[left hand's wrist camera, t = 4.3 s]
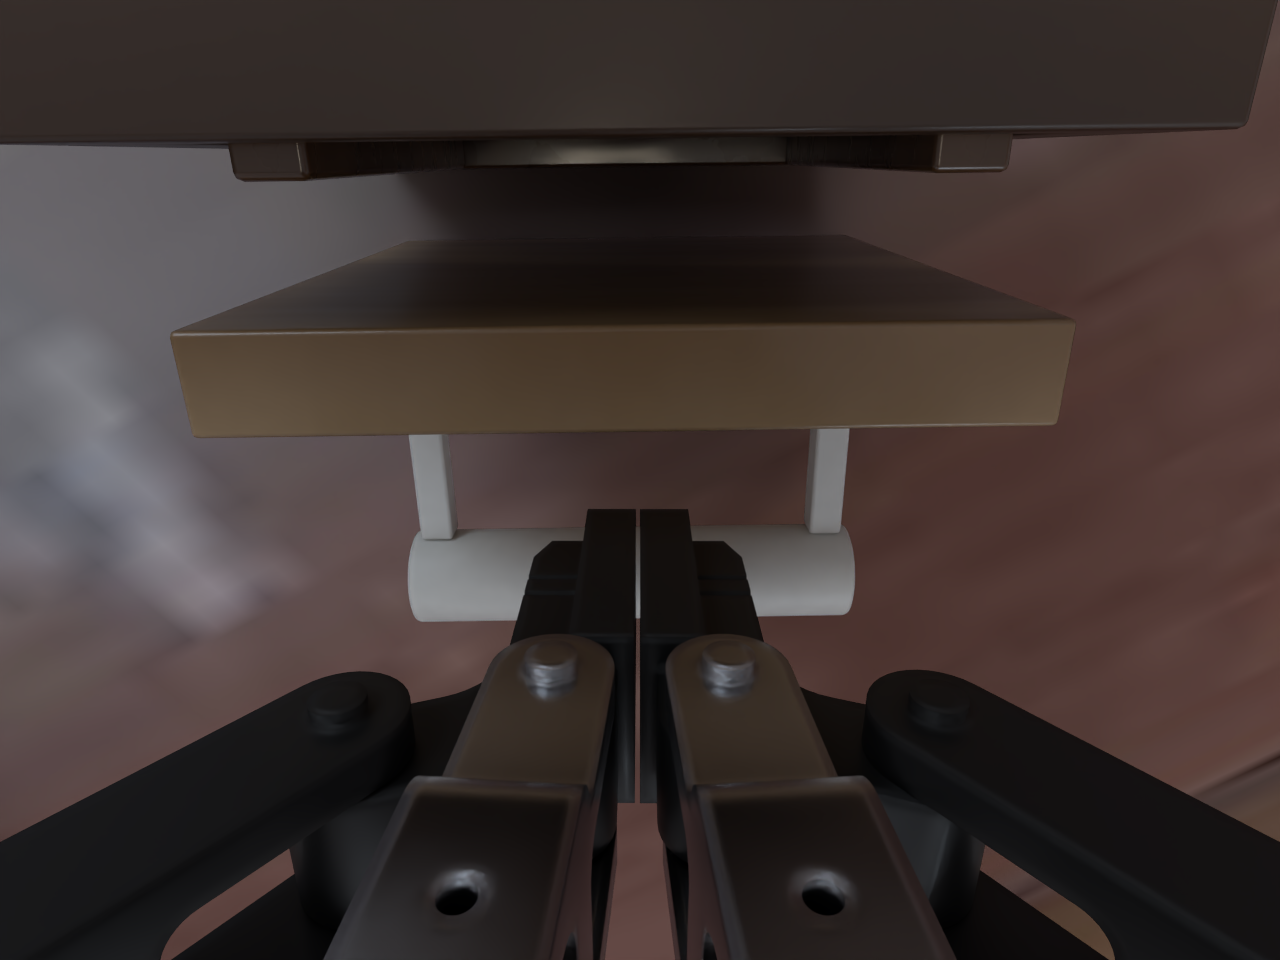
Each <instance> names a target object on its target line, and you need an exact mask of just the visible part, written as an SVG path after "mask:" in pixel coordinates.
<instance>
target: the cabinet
mask: <svg viewBox="0 0 1280 960" xmlns="http://www.w3.org/2000/svg"><path fill="white" fill-rule="evenodd" d="M1277 2H1278V0H0V144H4V145H58V146H63V145H68V146H111V147H165V148H219V149H229V147H228V143H305V142H386V141H467V140H548V139H629V138H710V137H790V136H871V135H952V134H1013V138H1012V139H1025V138H1048V137H1070V136H1093V135H1115V134H1138V133H1160V132H1182V131H1204V130H1227V129H1238V128H1240V127H1242V126H1244V125H1245V124H1246V123H1247V121H1248V118H1249V114H1250V110H1251V106H1252V102H1253V98H1254V94H1255V90H1256V86H1257V82H1258V78H1259V74H1260V70H1261V66H1262V62H1263V58H1264V54H1265V50H1266V46H1267V42H1268V38H1269V34H1270V30H1271V26H1272V22H1273V18H1274V14H1275V10H1276V6H1277Z"/></svg>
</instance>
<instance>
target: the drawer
mask: <svg viewBox="0 0 1280 960" xmlns="http://www.w3.org/2000/svg"><path fill="white" fill-rule="evenodd" d="M1012 138H1013V134H952V135H871V136H790V137H710V138H629V139H548V140H467V141H386V142H305V143H228V147H229V152H230V157H231V163H232V168H233V172H234V174H235V176H236V178H237V179H239V180H242V181H244V182H258V181H310V180H323V179H336V178H349V177H363V176H376V175H389V174H402V173H415V172H428V171H441V170H454V169H495V168H575V167H654V166H733V165H801V166H819V167H838V168H856V169H874V170H892V171H911V172H929V173H972V172H1001V171H1004V170H1006V169H1007V166H1008V164H1009V158H1010V151H1011V144H1012ZM1075 328H1076V322H1075V320H1074V319H1071V318H1069V317H1066V316H1064V315H1061V314H1058V313H1055V312H1053V311H1050V310H1047V309H1045V308H1042V307H1039V306H1036V305H1034V304H1031V303H1028V302H1025V301H1023V300H1020V299H1017V298H1015V297H1012V296H1009V295H1006V294H1004V293H1001V292H998V291H996V290H993V289H990V288H987V287H985V286H982V285H979V284H977V283H974V282H971V281H968V280H966V279H963V278H960V277H958V276H955V275H952V274H949V273H947V272H944V271H941V270H938V269H936V268H933V267H930V266H928V265H925V264H922V263H919V262H917V261H914V260H911V259H909V258H906V257H903V256H900V255H898V254H895V253H892V252H890V251H887V250H884V249H881V248H879V247H876V246H873V245H870V244H868V243H865V242H862V241H860V240H857V239H854V238H851V237H849V236H846V235H820V236H744V237H668V238H592V239H516V240H440V241H407V242H405V243H402V244H400V245H397V246H394V247H392V248H389V249H387V250H384V251H381V252H379V253H376V254H373V255H371V256H368V257H366V258H363V259H360V260H358V261H355V262H353V263H350V264H347V265H345V266H342V267H340V268H337V269H334V270H332V271H329V272H327V273H324V274H321V275H319V276H316V277H313V278H311V279H308V280H306V281H303V282H300V283H298V284H295V285H293V286H290V287H287V288H285V289H282V290H280V291H277V292H274V293H272V294H269V295H267V296H264V297H261V298H259V299H256V300H254V301H251V302H248V303H246V304H243V305H240V306H238V307H235V308H233V309H230V310H227V311H225V312H222V313H220V314H217V315H214V316H212V317H209V318H207V319H204V320H201V321H199V322H196V323H194V324H191V325H188V326H186V327H183V328H180V329H178V330H175V331H173V332H171V335H170V340H171V344H172V348H173V352H174V357H175V361H176V365H177V370H178V374H179V378H180V383H181V387H182V391H183V395H184V400H185V404H186V408H187V413H188V417H189V421H190V426H191V430H192V434H193V435H194V437H197V438H239V437H307V436H375V435H409V442H410V450H411V458H412V466H413V474H414V482H415V489H416V497H417V505H418V513H419V521H420V529H421V531H420V532H418V533H417V534H416V536H415V538H414V540H413V543H412V547H411V551H410V556H409V564H408V592H409V600H410V605H411V608H412V612H413V614H414V616H415V618H416V619H417V620H419V621H421V622H436V621H497V620H517V617H518V613H519V610H520V606H521V602H522V599H523V595H524V594H525V588H526V584H527V580H528V579H529V573H530V569H531V565H532V562H533V558H534V556H535V555H536V554H538V553H539V552H540V551H541V550H542V549H543V548H545V547H546V546H547V545H548V544H549V543H550V542H551V541H583V537H584V531H585V527H577V528H512V529H457V527H458V520H457V511H456V501H455V492H454V483H453V473H452V464H451V455H450V445H449V436H448V434H511V433H579V432H647V431H715V430H784V429H810V441H809V455H808V469H807V483H806V497H805V511H804V521H805V524H772V525H707V526H690V527H691V534H692V541H724V542H725V543H727V544H728V545H729V546H730V547H731V548H732V549H733V550H734V551H736V552H737V553H738V554H739V555H740V556H741V557H742V559H743V563H744V567H745V571H746V575H747V580H748V583H749V587H750V590H751V595H752V598H753V602H754V606H755V610H756V614H757V616H807V615H844V614H846V613H847V612H848V611H849V610H850V607H851V605H852V601H853V596H854V588H855V563H854V554H853V548H852V543H851V540H850V537H849V534H848V531H847V529H846V528H845V527H844V526H843V525H841V517H842V506H843V495H844V484H845V473H846V462H847V451H848V440H849V429H852V428H920V427H988V426H1050V425H1055V424H1056V423H1057V421H1058V416H1059V411H1060V406H1061V401H1062V395H1063V390H1064V385H1065V380H1066V375H1067V369H1068V364H1069V359H1070V354H1071V349H1072V343H1073V338H1074V333H1075ZM636 618H640V527H636Z"/></svg>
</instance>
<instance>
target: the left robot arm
mask: <svg viewBox="0 0 1280 960" xmlns="http://www.w3.org/2000/svg"><path fill="white" fill-rule="evenodd" d="M635 695H636V509H588V511H587V518H586V524H585V531H584V537H583V541H551V542H550V543H549V544H548V545H547V546H546V547H545V548H543V549H542V550H541V551H540V552H539V553H538V554H536V555H535V556H534V558H533V562H532V565H531V569H530V573H529V579H528V580H527V584H526V588H525V594H524V595H523V599H522V602H521V606H520V610H519V613H518V617H517V621H516V625H515V628H514V632H513V636H512V639H511V643H510V646H508V647H506V648H505V649H503V650H502V651H501V652H500V653H498V654H497V655H496V657H495V658H494V659H493V660H492V662H491V664H490V665H489V668H488V670H487V672H486V675H485V677H484V679H483V682H482V683H480V684H478V685H476V686H474V687H472V688H470V689H468V690H465V691H462V692H460V693H457V694H453V695H449V696H445V697H441V698H436V699H431V700H427V701H422V702H417V703H412V704H411V701H410V695H409V692H408V690H407V688H406V687H405V686H404V685H403V684H402V683H401V682H400V681H398V680H397V679H395V678H393V677H391V676H388V675H385V674H381V673H375V672H361V671H359V672H346V673H340V674H335V675H331V676H327V677H324V678H321V679H318V680H315V681H312V682H310V683H308V684H306V685H304V686H302V687H300V688H298V689H296V690H294V691H292V692H290V693H288V694H286V695H284V696H282V697H280V698H278V699H276V700H274V701H272V702H271V703H269V704H267V705H265V706H263V707H261V708H259V709H257V710H255V711H253V712H251V713H249V714H247V715H245V716H243V717H241V718H240V719H238V720H236V721H234V722H232V723H230V724H228V725H226V726H224V727H222V728H220V729H218V730H216V731H214V732H212V733H211V734H209V735H207V736H205V737H203V738H201V739H199V740H197V741H195V742H193V743H191V744H189V745H187V746H185V747H183V748H181V749H180V750H178V751H176V752H174V753H172V754H170V755H168V756H166V757H164V758H162V759H160V760H158V761H156V762H154V763H152V764H150V765H149V766H147V767H145V768H143V769H141V770H139V771H137V772H135V773H133V774H131V775H129V776H127V777H125V778H123V779H121V780H120V781H118V782H116V783H114V784H112V785H110V786H108V787H106V788H104V789H102V790H100V791H98V792H96V793H94V794H92V795H90V796H89V797H87V798H85V799H83V800H81V801H79V802H77V803H75V804H73V805H71V806H69V807H67V808H65V809H63V810H61V811H59V812H58V813H56V814H54V815H52V816H50V817H48V818H46V819H44V820H42V821H40V822H38V823H36V824H34V825H32V826H30V827H29V828H27V829H25V830H23V831H21V832H19V833H17V834H15V835H13V836H11V837H9V838H7V839H5V840H3V841H1V842H0V960H160V959H161V955H162V952H163V950H164V947H165V945H166V943H167V941H168V940H169V938H170V936H171V935H172V934H173V932H174V931H175V930H176V928H177V927H178V926H179V925H180V924H181V923H182V922H183V921H184V920H185V919H186V918H187V917H188V916H189V915H191V914H192V913H193V912H195V911H196V910H197V909H199V908H200V907H202V906H203V905H205V904H206V903H208V902H209V901H211V900H212V899H214V898H215V897H217V896H218V895H220V894H221V893H223V892H224V891H226V890H227V889H229V888H230V887H232V886H233V885H235V884H236V883H238V882H239V881H241V880H242V879H244V878H245V877H247V876H248V875H250V874H251V873H253V872H254V871H256V870H257V869H259V868H260V867H262V866H263V865H265V864H266V863H268V862H269V861H271V860H272V859H274V858H275V857H277V856H278V855H280V854H281V853H283V852H284V851H286V850H287V849H290V854H291V859H292V863H293V868H294V873H295V874H294V875H292V876H291V877H289V878H288V879H287V880H285V881H284V882H282V883H281V884H279V885H278V886H277V887H275V888H274V889H272V890H271V891H269V892H268V893H266V894H265V895H264V896H262V897H261V898H259V899H258V900H256V901H255V902H254V903H252V904H251V905H249V906H248V907H246V908H245V909H244V910H242V911H241V912H239V913H238V914H236V915H235V916H233V917H232V918H231V919H229V920H228V921H226V922H225V923H223V924H222V925H221V926H219V927H218V928H216V929H215V930H213V931H212V932H211V933H209V934H208V935H206V936H205V937H203V938H202V939H200V940H199V941H198V942H196V943H195V944H193V945H192V946H190V947H189V948H188V949H186V950H185V951H183V952H182V953H180V954H179V955H177V956H176V957H175V958H173V959H172V960H605V954H606V946H607V938H608V930H609V922H610V914H611V906H612V898H613V890H614V882H615V874H616V866H617V803H635ZM640 803H657V822H658V830H659V833H660V836H661V838H662V840H663V866H664V874H665V882H666V890H667V898H668V906H669V914H670V922H671V930H672V938H673V946H674V954H675V960H1108V959H1107V958H1105V957H1104V956H1102V955H1101V954H1100V953H1098V952H1097V951H1095V950H1094V949H1092V948H1091V947H1090V946H1088V945H1087V944H1085V943H1084V942H1082V941H1081V940H1080V939H1078V938H1077V937H1075V936H1074V935H1072V934H1071V933H1069V932H1068V931H1067V930H1065V929H1064V928H1062V927H1061V926H1059V925H1058V924H1057V923H1055V922H1054V921H1052V920H1051V919H1049V918H1048V917H1047V916H1045V915H1044V914H1042V913H1041V912H1039V911H1038V910H1036V909H1035V908H1034V907H1032V906H1031V905H1029V904H1028V903H1026V902H1025V901H1024V900H1022V899H1021V898H1019V897H1018V896H1016V895H1015V894H1013V893H1012V892H1011V891H1009V890H1008V889H1006V888H1005V887H1003V886H1002V885H1001V884H999V883H998V882H996V881H995V880H993V879H992V878H991V877H989V876H988V875H986V874H985V873H983V872H982V871H980V867H981V862H982V857H983V852H984V847H985V845H987V846H988V847H990V848H991V849H993V850H994V851H996V852H997V853H999V854H1000V855H1002V856H1003V857H1005V858H1006V859H1008V860H1009V861H1011V862H1012V863H1014V864H1015V865H1017V866H1018V867H1020V868H1021V869H1023V870H1024V871H1026V872H1027V873H1029V874H1030V875H1032V876H1033V877H1035V878H1036V879H1038V880H1039V881H1041V882H1042V883H1044V884H1045V885H1047V886H1048V887H1050V888H1051V889H1053V890H1054V891H1056V892H1057V893H1059V894H1060V895H1062V896H1063V897H1065V898H1066V899H1068V900H1069V901H1071V902H1072V903H1074V904H1075V905H1077V906H1078V907H1079V908H1081V909H1082V910H1083V911H1085V912H1086V913H1087V914H1088V915H1089V916H1090V917H1091V918H1093V920H1094V921H1095V922H1096V923H1097V924H1098V925H1099V926H1100V928H1101V929H1102V930H1103V932H1104V933H1105V935H1106V936H1107V938H1108V940H1109V942H1110V944H1111V946H1112V949H1113V952H1114V956H1115V960H1280V842H1279V841H1277V840H1275V839H1273V838H1271V837H1269V836H1267V835H1265V834H1263V833H1261V832H1259V831H1257V830H1255V829H1253V828H1251V827H1250V826H1248V825H1246V824H1244V823H1242V822H1240V821H1238V820H1236V819H1234V818H1232V817H1230V816H1228V815H1226V814H1224V813H1222V812H1220V811H1219V810H1217V809H1215V808H1213V807H1211V806H1209V805H1207V804H1205V803H1203V802H1201V801H1199V800H1197V799H1195V798H1193V797H1191V796H1189V795H1188V794H1186V793H1184V792H1182V791H1180V790H1178V789H1176V788H1174V787H1172V786H1170V785H1168V784H1166V783H1164V782H1162V781H1160V780H1159V779H1157V778H1155V777H1153V776H1151V775H1149V774H1147V773H1145V772H1143V771H1141V770H1139V769H1137V768H1135V767H1133V766H1131V765H1129V764H1128V763H1126V762H1124V761H1122V760H1120V759H1118V758H1116V757H1114V756H1112V755H1110V754H1108V753H1106V752H1104V751H1102V750H1100V749H1098V748H1097V747H1095V746H1093V745H1091V744H1089V743H1087V742H1085V741H1083V740H1081V739H1079V738H1077V737H1075V736H1073V735H1071V734H1069V733H1068V732H1066V731H1064V730H1062V729H1060V728H1058V727H1056V726H1054V725H1052V724H1050V723H1048V722H1046V721H1044V720H1042V719H1040V718H1038V717H1037V716H1035V715H1033V714H1031V713H1029V712H1027V711H1025V710H1023V709H1021V708H1019V707H1017V706H1015V705H1013V704H1011V703H1009V702H1008V701H1006V700H1004V699H1002V698H1000V697H998V696H996V695H994V694H992V693H990V692H988V691H986V690H984V689H982V688H980V687H978V686H977V685H975V684H972V683H970V682H968V681H966V680H964V679H961V678H958V677H955V676H952V675H948V674H944V673H941V672H934V671H927V670H904V671H897V672H894V673H890V674H887V675H885V676H883V677H881V678H879V679H878V680H876V681H875V682H874V683H873V684H872V685H871V687H870V688H869V691H868V693H867V699H866V705H865V704H860V703H856V702H851V701H846V700H841V699H837V698H832V697H828V696H824V695H820V694H817V693H814V692H811V691H808V690H806V689H804V688H801V687H800V686H799V684H798V682H797V679H796V677H795V675H794V672H793V670H792V668H791V665H790V664H789V662H788V660H787V659H786V658H785V657H784V655H783V654H782V653H780V652H779V651H778V650H777V649H775V648H774V647H772V646H770V645H769V644H767V643H764V641H763V637H762V633H761V629H760V625H759V621H758V617H757V614H756V610H755V606H754V602H753V598H752V595H751V590H750V587H749V583H748V580H747V575H746V571H745V567H744V563H743V559H742V557H741V556H740V555H739V554H738V553H737V552H736V551H734V550H733V549H732V548H731V547H730V546H729V545H728V544H727V543H725V542H724V541H692V534H691V527H690V520H689V513H688V509H640Z"/></svg>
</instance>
